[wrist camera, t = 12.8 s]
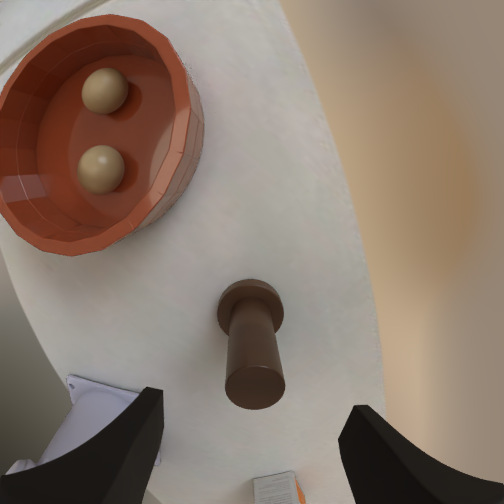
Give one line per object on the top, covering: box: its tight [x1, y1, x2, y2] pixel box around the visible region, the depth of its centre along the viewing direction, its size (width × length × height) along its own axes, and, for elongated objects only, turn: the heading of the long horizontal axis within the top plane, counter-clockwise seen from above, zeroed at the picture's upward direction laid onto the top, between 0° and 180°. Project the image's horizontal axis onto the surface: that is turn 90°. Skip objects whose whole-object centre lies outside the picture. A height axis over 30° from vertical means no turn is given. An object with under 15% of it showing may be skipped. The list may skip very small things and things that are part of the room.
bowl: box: [0, 14, 204, 256], centre depth 14 cm, size 12×12×5 cm
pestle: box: [217, 279, 285, 410], centre depth 15 cm, size 4×4×8 cm
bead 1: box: [82, 68, 129, 114], centre depth 14 cm, size 3×3×3 cm
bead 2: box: [77, 145, 125, 195], centre depth 15 cm, size 3×3×3 cm
